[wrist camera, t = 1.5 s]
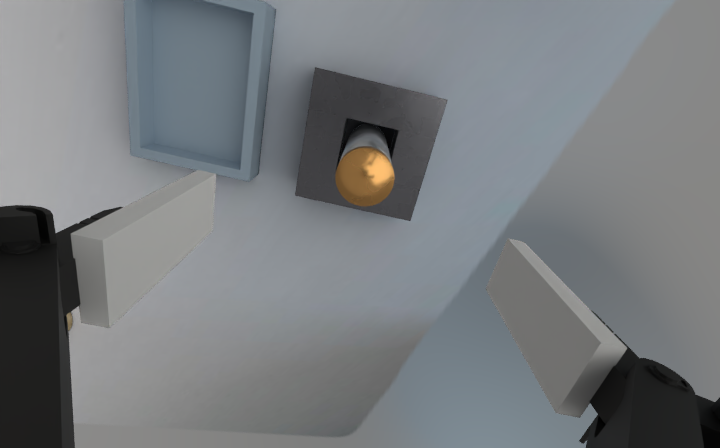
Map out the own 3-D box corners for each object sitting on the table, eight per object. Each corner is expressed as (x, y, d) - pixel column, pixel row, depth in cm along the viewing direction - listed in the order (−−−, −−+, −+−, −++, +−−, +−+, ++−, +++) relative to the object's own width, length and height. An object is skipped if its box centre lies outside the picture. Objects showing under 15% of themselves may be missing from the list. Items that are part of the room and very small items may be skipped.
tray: (144, -24, 30) (122, -35, 28) (275, 9, 31) (266, 2, 28) (148, 149, 37) (130, 155, 34) (258, 174, 37) (249, 181, 35)
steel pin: (352, 119, 35) (341, 142, 22) (390, 128, 35) (401, 156, 22) (344, 157, 36) (330, 199, 23) (380, 165, 37) (386, 211, 24)
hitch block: (321, 68, 33) (315, 67, 29) (439, 97, 34) (447, 99, 30) (302, 184, 38) (295, 195, 34) (406, 207, 38) (410, 220, 35)
